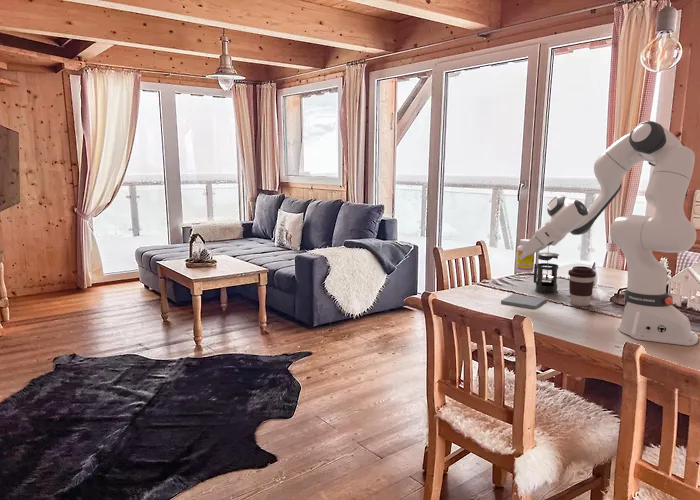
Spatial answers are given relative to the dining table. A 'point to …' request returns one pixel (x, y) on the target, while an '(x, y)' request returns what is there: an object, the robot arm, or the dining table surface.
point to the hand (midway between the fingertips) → (524, 256)
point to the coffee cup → (581, 285)
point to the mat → (523, 301)
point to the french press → (546, 286)
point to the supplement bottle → (525, 263)
